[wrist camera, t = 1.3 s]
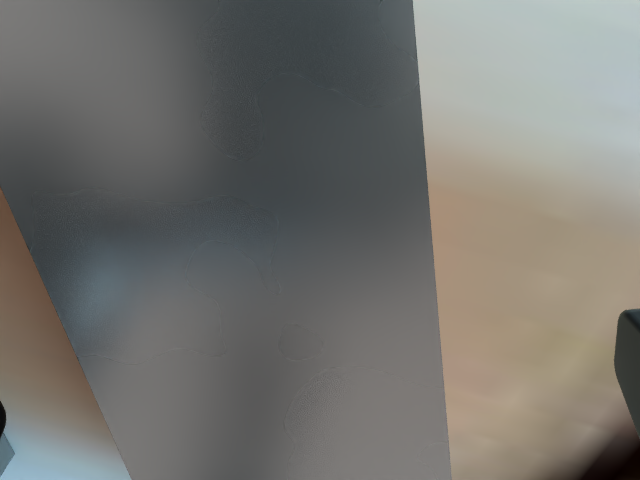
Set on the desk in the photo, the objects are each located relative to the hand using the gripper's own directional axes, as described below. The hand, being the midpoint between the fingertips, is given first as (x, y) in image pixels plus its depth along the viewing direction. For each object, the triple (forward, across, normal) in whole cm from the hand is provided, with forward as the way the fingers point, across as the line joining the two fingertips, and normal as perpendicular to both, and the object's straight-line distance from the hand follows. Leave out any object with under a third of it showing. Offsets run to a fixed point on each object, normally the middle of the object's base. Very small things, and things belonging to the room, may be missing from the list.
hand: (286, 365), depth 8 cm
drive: (+6, 0, 0) cm, 6 cm away
